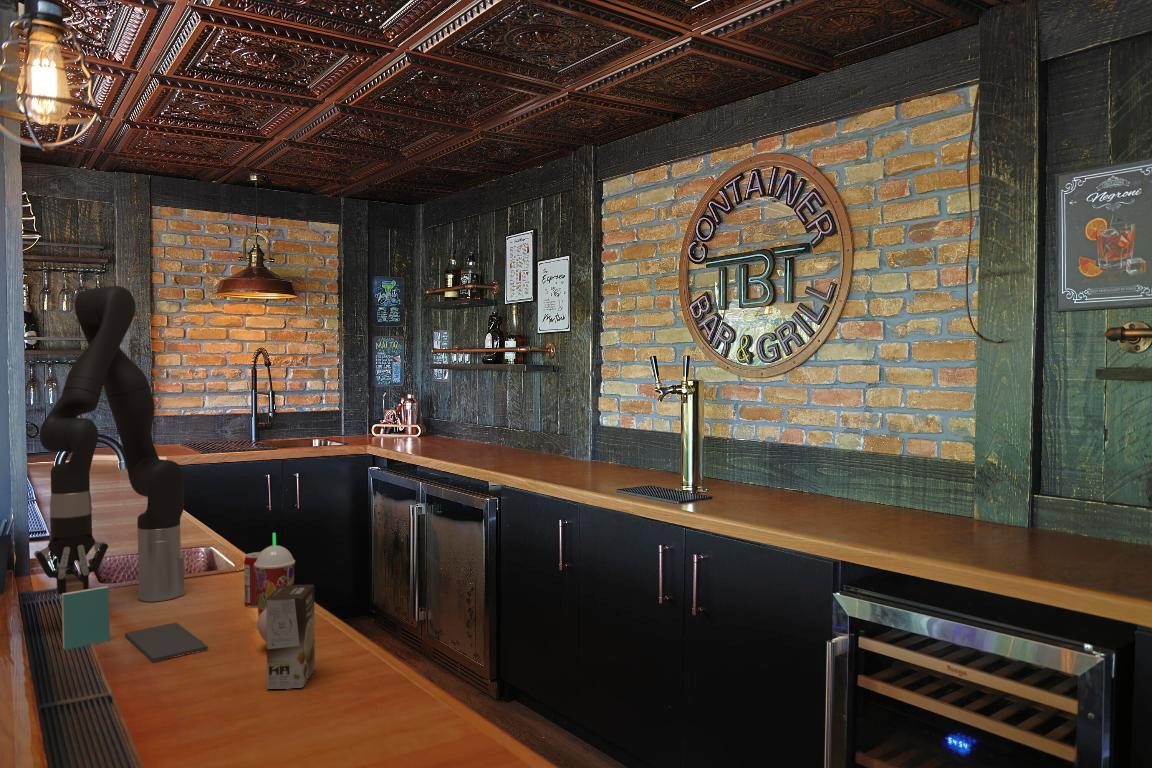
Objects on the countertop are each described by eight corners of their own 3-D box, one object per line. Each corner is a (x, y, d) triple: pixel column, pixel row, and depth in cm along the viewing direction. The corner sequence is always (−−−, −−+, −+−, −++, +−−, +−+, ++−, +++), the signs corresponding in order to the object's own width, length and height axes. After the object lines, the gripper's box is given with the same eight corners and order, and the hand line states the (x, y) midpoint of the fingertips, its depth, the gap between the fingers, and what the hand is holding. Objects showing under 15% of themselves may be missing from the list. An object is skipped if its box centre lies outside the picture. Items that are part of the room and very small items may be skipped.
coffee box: (304, 689, 145) (302, 598, 144) (266, 691, 144) (264, 599, 144) (316, 670, 154) (314, 583, 154) (280, 671, 154) (279, 584, 153)
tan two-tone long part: (53, 590, 180) (53, 577, 180) (77, 586, 183) (77, 573, 183) (67, 606, 169) (67, 591, 169) (93, 601, 172) (93, 587, 172)
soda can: (275, 602, 196) (274, 552, 196) (257, 609, 191) (256, 557, 191) (257, 599, 199) (256, 549, 198) (239, 606, 194) (238, 554, 193)
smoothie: (304, 621, 182) (302, 530, 182) (278, 633, 174) (277, 538, 174) (272, 617, 185) (271, 528, 184) (246, 629, 177) (244, 535, 176)
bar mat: (176, 626, 179) (176, 622, 179) (207, 650, 165) (207, 646, 165) (125, 636, 173) (125, 632, 173) (153, 662, 158) (153, 658, 158)
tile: (107, 639, 171) (106, 586, 171) (109, 641, 170) (108, 587, 170) (63, 648, 166) (61, 593, 166) (64, 650, 165) (63, 595, 164)
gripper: (104, 506, 183) (105, 584, 184) (28, 514, 174) (30, 596, 174) (112, 511, 177) (114, 591, 178) (34, 519, 168) (36, 604, 169)
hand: (72, 593), depth 176 cm, fingers closed on tan two-tone long part, 3 cm apart
